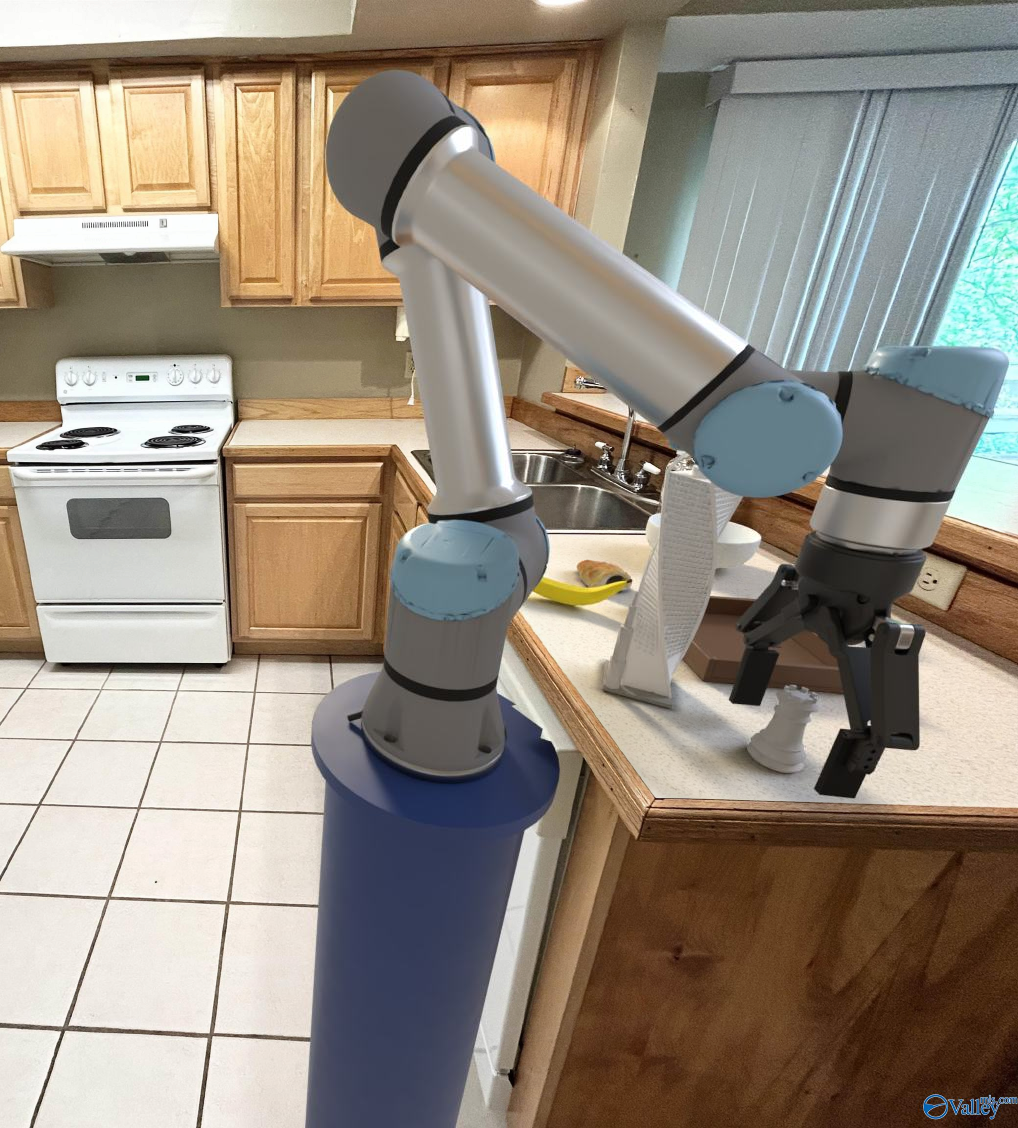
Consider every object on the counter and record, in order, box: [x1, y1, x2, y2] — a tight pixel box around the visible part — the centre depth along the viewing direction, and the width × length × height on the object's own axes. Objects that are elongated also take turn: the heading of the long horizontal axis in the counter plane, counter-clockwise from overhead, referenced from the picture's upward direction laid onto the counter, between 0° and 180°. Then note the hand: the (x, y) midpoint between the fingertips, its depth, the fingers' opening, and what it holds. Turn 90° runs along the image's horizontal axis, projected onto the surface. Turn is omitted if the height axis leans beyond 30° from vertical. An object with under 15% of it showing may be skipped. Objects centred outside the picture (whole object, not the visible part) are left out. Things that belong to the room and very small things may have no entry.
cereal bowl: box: [645, 512, 762, 570], centre depth 106 cm, size 17×17×7 cm
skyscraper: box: [601, 452, 744, 709], centre depth 66 cm, size 8×8×28 cm
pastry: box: [576, 559, 633, 592], centre depth 98 cm, size 9×7×4 cm
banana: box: [532, 576, 633, 607], centre depth 91 cm, size 3×19×6 cm, turn 52°
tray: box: [682, 595, 843, 694], centre depth 79 cm, size 18×20×3 cm
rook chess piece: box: [746, 685, 821, 774], centre depth 57 cm, size 4×4×8 cm
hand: (784, 743), depth 58 cm, fingers open, 13 cm apart
